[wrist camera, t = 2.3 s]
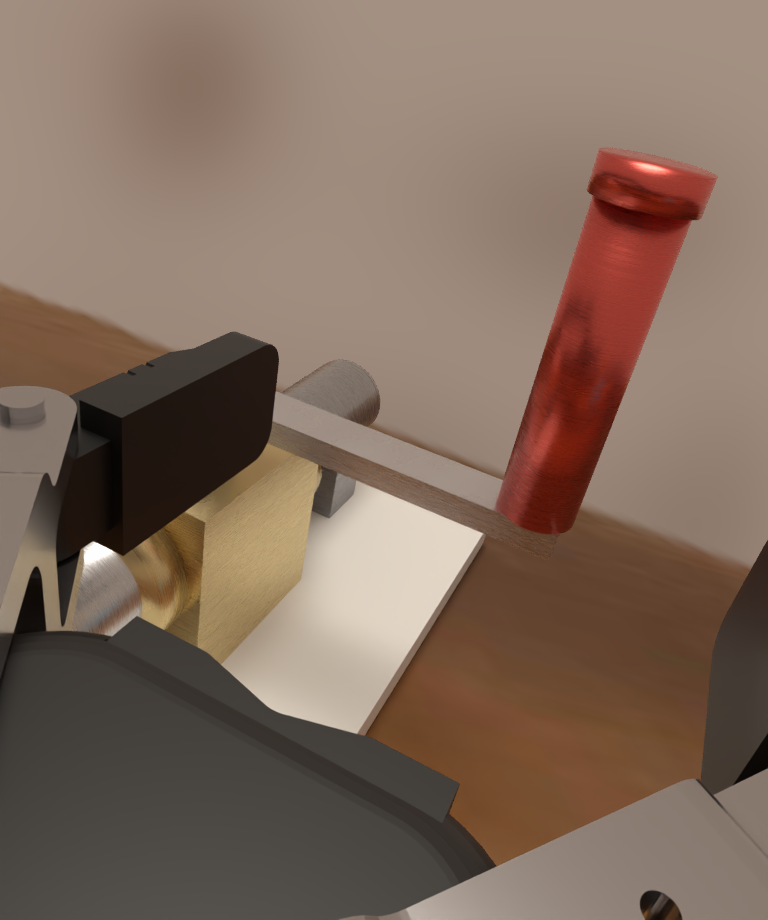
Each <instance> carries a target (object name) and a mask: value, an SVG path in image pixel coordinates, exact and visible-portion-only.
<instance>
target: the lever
mask: <svg viewBox="0 0 768 920" xmlns="http://www.w3.org/2000/svg"><path fill="white" fill-rule="evenodd" d="M716 180H717V176H716V175H715V174H713V173H711V172H709V171H707V170H704V169H701V168H698V167H695V166H692V165H689V164H686V163H682V162H678V161H675V160H671V159H667V158H663V157H659V156H655V155H650V154H645V153H640V152H635V151H629V150H623V149H616V148H600V149H599V151H598V154H597V158H596V161H595V164H594V167H593V170H592V174H591V177H590V180H589V184H588V187H587V191H588V192H589V193H590V194H592V195H593V196H592V200H591V202H590V206H589V209H588V212H587V215H586V218H585V222H584V225H583V228H582V231H581V234H580V237H579V241H578V244H577V247H576V250H575V253H574V256H573V260H572V263H571V266H570V269H569V272H568V276H567V279H566V282H565V285H564V289H563V291H562V295H561V298H560V301H559V304H558V307H557V311H556V314H555V317H554V320H553V323H552V326H551V330H550V333H549V336H548V339H547V342H546V345H545V349H544V352H543V355H542V358H541V361H540V364H539V368H538V371H537V374H536V377H535V380H534V384H533V387H532V390H531V394H530V396H529V400H528V403H527V406H526V409H525V412H524V415H523V418H522V422H521V425H520V428H519V431H518V435H517V438H516V441H515V444H514V447H513V450H512V454H511V457H510V460H509V463H508V466H507V470H506V472H505V476H504V479H503V480H500V479H498V478H495V477H493V476H490V475H488V474H485V473H483V472H480V471H478V470H475V469H472V468H470V467H467V466H465V465H462V464H460V463H457V462H455V461H452V460H450V459H447V458H444V457H442V456H439V455H437V454H434V453H432V452H429V451H427V450H424V449H421V448H419V447H416V446H414V445H411V444H409V443H406V442H404V441H401V440H399V439H396V438H393V437H391V436H388V435H386V434H383V433H381V432H378V431H376V430H373V429H371V428H368V427H365V426H363V425H360V424H358V423H355V422H353V421H350V420H348V419H345V418H342V417H340V416H337V415H335V414H332V413H330V412H327V411H325V410H322V409H320V408H317V407H314V406H312V405H309V404H307V403H304V402H302V401H299V400H297V399H294V398H292V397H289V396H286V395H284V394H281V393H279V392H276V393H275V402H274V411H273V420H272V429H271V434H270V437H269V440H268V443H267V444H270V445H272V446H275V447H277V448H279V449H282V450H284V451H287V452H289V453H291V454H294V455H296V456H299V457H301V458H303V459H306V460H308V461H311V462H313V463H315V464H318V465H320V466H323V467H325V468H327V469H330V470H332V471H335V472H337V473H339V474H342V475H344V476H346V477H349V478H351V479H354V480H356V481H358V482H361V483H363V484H366V485H368V486H370V487H373V488H375V489H378V490H380V491H382V492H385V493H387V494H390V495H392V496H394V497H397V498H399V499H402V500H404V501H406V502H409V503H411V504H414V505H416V506H418V507H421V508H423V509H426V510H428V511H430V512H433V513H435V514H438V515H440V516H442V517H445V518H447V519H449V520H452V521H454V522H457V523H459V524H461V525H464V526H466V527H469V528H471V529H473V530H476V531H478V532H481V533H483V534H485V535H488V536H490V537H493V538H495V539H497V540H500V541H502V542H505V543H507V544H509V545H512V546H514V547H517V548H519V549H521V550H524V551H526V552H529V553H531V554H533V555H536V556H538V557H541V558H543V559H545V560H549V558H550V555H551V553H552V551H553V549H554V547H555V545H556V542H557V540H558V538H559V536H560V534H561V533H564V532H566V531H568V530H569V529H570V528H571V527H572V526H573V524H574V521H575V519H576V516H577V514H578V511H579V508H580V506H581V503H582V501H583V498H584V496H585V493H586V490H587V488H588V485H589V483H590V480H591V478H592V475H593V473H594V470H595V467H596V465H597V462H598V460H599V457H600V455H601V452H602V449H603V447H604V444H605V442H606V439H607V437H608V434H609V432H610V429H611V426H612V423H613V421H614V419H615V416H616V414H617V411H618V408H619V406H620V403H621V401H622V398H623V396H624V393H625V390H626V388H627V385H628V383H629V380H630V378H631V375H632V372H633V370H634V367H635V365H636V362H637V360H638V357H639V355H640V352H641V349H642V347H643V344H644V342H645V339H646V336H647V334H648V331H649V329H650V326H651V324H652V321H653V319H654V316H655V313H656V311H657V308H658V306H659V303H660V301H661V298H662V296H663V293H664V291H665V288H666V285H667V283H668V280H669V278H670V275H671V272H672V270H673V267H674V265H675V262H676V260H677V257H678V254H679V252H680V249H681V247H682V244H683V242H684V239H685V237H686V234H687V232H688V229H689V226H690V224H691V221H692V220H699V219H701V218H702V215H703V213H704V210H705V208H706V205H707V203H708V200H709V198H710V195H711V193H712V190H713V188H714V185H715V183H716Z"/></svg>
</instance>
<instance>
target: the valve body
mask: <svg viewBox="0 0 768 920" xmlns="http://www.w3.org/2000/svg"><path fill="white" fill-rule="evenodd" d="M280 393H281V394H284V395H286V396H289V397H292V398H294V399H297V400H299V401H302V402H304V403H307V404H309V405H312V406H314V407H317V408H320V409H322V410H325V411H327V412H330V413H332V414H335V415H337V416H340V417H342V418H345V419H348V420H350V421H353V422H355V423H358V424H360V425H363V426H365V427H369V426H370V425H371V424H372V423H373V422H374V421H375V419H376V417H377V415H378V413H379V409H380V395H379V391H378V388H377V386H376V384H375V382H374V380H373V379H372V377H371V376H370V375H369V373H368V372H366V370H365V369H363V368H362V367H361V366H359V365H357V364H356V363H353V362H350V361H347V360H333V361H330V362H328V363H326V364H324V365H323V366H321V367H319V368H318V369H316V370H315V371H313V372H312V373H310V374H309V375H307V376H305V377H304V378H302V379H301V380H299V381H297V382H296V383H294V384H293V385H291V386H290V387H288V388H286V389H285V390H283V391H282V392H280ZM355 485H356V480H354V479H351V478H349V477H346V476H344V475H342V474H339V473H337V472H335V471H332V470H330V469H327V468H325V467H323V466H320V465H318V464H315V463H313V462H311V461H308V460H306V459H303V458H301V457H299V456H296V455H294V454H291V453H289V452H287V451H284V450H282V449H279V448H277V447H275V446H272V445H270V444H267V445H266V447H265V449H264V451H263V452H262V454H261V455H260V456H259V458H258V459H257V460H256V461H254V462H253V463H252V464H250V465H249V466H248V467H246V468H245V469H244V470H242V471H241V472H239V473H238V474H237V475H235V476H234V477H232V478H231V479H230V480H228V481H227V482H225V483H224V484H223V485H221V486H220V487H219V488H217V489H216V490H214V491H213V492H212V493H210V494H209V495H207V496H206V497H205V498H203V499H202V500H201V501H199V502H198V503H196V504H195V505H194V506H192V507H191V508H189V509H188V510H187V511H185V512H184V513H183V514H181V515H180V516H178V517H177V518H176V519H174V520H173V521H171V522H170V523H169V524H167V525H166V526H164V527H163V528H162V529H160V530H159V531H158V532H156V533H155V534H153V535H152V536H151V537H149V538H148V539H146V540H145V541H144V542H142V543H141V544H140V545H138V546H137V547H135V548H134V549H133V550H131V551H130V552H128V553H127V554H126V555H124V556H122V555H120V554H118V553H116V552H114V551H112V550H110V549H108V548H106V547H104V546H102V545H100V544H98V543H96V542H94V541H93V542H91V543H90V544H88V545H87V546H85V547H84V568H83V573H82V578H81V583H80V588H79V593H78V598H77V603H76V608H75V613H74V618H73V623H72V628H71V631H82V632H90V633H97V634H104V635H108V636H113V635H114V634H116V633H117V632H118V631H119V630H120V629H122V628H123V627H124V626H125V625H126V624H128V623H129V622H130V621H131V620H132V619H134V618H135V617H136V616H138V617H140V618H142V619H144V620H146V621H148V622H150V623H152V624H154V625H155V626H157V627H159V628H161V629H163V630H165V631H167V632H169V633H171V634H173V635H175V636H177V637H179V638H180V639H182V640H184V641H186V642H188V643H190V644H192V645H194V646H196V647H198V648H200V649H202V650H204V651H205V652H207V653H209V654H210V655H211V656H212V657H213V658H214V659H215V660H216V661H218V662H219V663H220V664H222V663H223V662H224V661H225V660H226V659H227V658H228V657H229V656H230V655H231V653H232V652H233V651H234V650H235V649H236V648H237V647H238V646H239V645H240V644H241V643H242V642H243V641H244V640H245V639H246V638H247V636H248V635H249V634H250V633H251V632H252V631H253V630H254V629H255V628H256V627H257V626H258V625H259V624H260V623H261V622H262V620H263V619H264V618H265V617H266V616H267V615H268V614H269V613H270V612H271V611H272V610H273V609H274V608H275V607H276V606H277V605H278V603H279V602H280V601H281V600H282V599H283V598H284V597H285V596H286V595H287V594H288V593H289V592H290V591H291V590H292V589H293V587H294V586H295V585H296V584H297V583H298V582H299V581H300V580H301V576H302V570H303V563H304V557H305V550H306V544H307V537H308V531H309V524H310V518H311V511H313V512H316V513H318V514H320V515H322V516H325V517H327V518H329V519H330V518H331V517H332V516H333V515H334V514H335V513H336V512H337V511H338V510H339V509H340V508H341V507H342V506H343V505H344V504H345V503H346V502H347V501H348V500H349V499H350V498H351V497H352V496H353V495H354V490H355Z"/></svg>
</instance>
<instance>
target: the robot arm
mask: <svg viewBox="0 0 768 920" xmlns="http://www.w3.org/2000/svg"><path fill="white" fill-rule="evenodd" d="M278 364H279V357H278V352H277V349H276V348H275V347H274V346H273V345H271V344H268V343H265V342H262V341H260V340H257V339H254V338H251V337H249V336H246V335H243V334H240V333H238V332H230V333H228V334H225V335H223V336H221V337H219V338H217V339H214V340H212V341H210V342H207V343H205V344H203V345H201V346H198V347H196V348H194V349H188V350H182V351H176V352H170V353H167V354H165V355H163V356H160V357H158V358H156V359H153V360H151V361H149V362H147V363H146V365H140V366H137V367H135V368H133V369H130V370H128V373H127V374H126V373H121V374H119V375H117V376H114V377H112V378H110V379H107V380H105V381H103V382H101V383H98V384H96V385H94V386H91V387H89V388H87V389H84V390H82V391H80V392H78V393H75V394H73V395H71V396H67V395H66V394H64V393H62V392H59V391H56V390H53V389H49V388H44V387H36V386H12V387H4V388H0V920H768V541H767V542H766V544H765V546H764V547H763V549H762V551H761V553H760V554H759V556H758V558H757V560H756V562H755V563H754V565H753V567H752V569H751V571H750V572H749V574H748V576H747V578H746V580H745V581H744V583H743V585H742V587H741V589H740V590H739V592H738V594H737V596H736V598H735V599H734V601H733V603H732V605H731V607H730V608H729V610H728V612H727V614H726V616H725V618H724V620H723V622H722V625H721V627H720V630H719V632H718V635H717V638H716V641H715V645H714V649H713V654H712V664H711V675H710V686H709V697H708V707H707V718H706V729H705V740H704V751H703V762H702V772H701V781H700V780H698V779H688V780H684V781H681V782H679V783H676V784H674V785H672V786H670V787H668V788H665V789H663V790H661V791H659V792H657V793H655V794H652V795H650V796H648V797H646V798H644V799H642V800H639V801H637V802H635V803H633V804H631V805H629V806H626V807H624V808H622V809H620V810H618V811H616V812H613V813H611V814H609V815H607V816H605V817H603V818H601V819H598V820H596V821H594V822H592V823H590V824H588V825H585V826H583V827H581V828H579V829H577V830H575V831H572V832H570V833H568V834H566V835H564V836H562V837H559V838H557V839H555V840H553V841H551V842H549V843H547V844H544V845H542V846H540V847H538V848H536V849H534V850H531V851H529V852H527V853H525V854H523V855H521V856H518V857H516V858H514V859H512V860H510V861H508V862H505V863H503V864H501V865H499V866H496V865H495V864H494V862H493V861H492V859H491V858H490V857H489V855H488V854H487V853H486V851H485V850H484V849H483V847H482V846H481V845H480V844H479V843H478V842H477V841H476V840H475V839H474V837H473V836H472V835H471V834H470V833H469V832H468V831H467V830H466V829H465V828H464V827H463V826H462V825H461V824H460V823H459V822H458V821H456V820H455V819H454V818H453V817H452V816H451V815H450V814H449V812H450V809H451V807H452V804H453V801H454V798H455V796H456V793H457V790H458V787H459V785H460V784H459V783H457V782H455V781H453V780H452V779H450V778H448V777H446V776H444V775H442V774H440V773H438V772H436V771H434V770H432V769H430V768H428V767H427V766H425V765H423V764H421V763H419V762H417V761H415V760H413V759H411V758H409V757H407V756H405V755H403V754H402V753H400V752H398V751H396V750H394V749H392V748H390V747H388V746H386V745H384V744H382V743H380V742H378V741H377V740H375V739H373V738H370V737H367V736H363V735H359V734H355V733H352V732H348V731H344V730H341V729H337V728H333V727H329V726H326V725H322V724H318V723H315V722H311V721H307V720H303V719H300V718H296V717H292V716H289V715H285V714H282V713H279V712H276V711H274V710H272V709H270V708H269V707H268V706H266V705H265V704H264V703H263V702H262V701H261V700H260V699H259V698H257V697H256V696H255V695H254V694H253V693H252V692H251V691H250V690H249V689H247V688H246V687H245V686H244V685H243V684H242V683H241V682H240V681H239V680H237V679H236V678H235V677H234V676H233V675H232V674H231V673H230V672H229V671H227V670H226V669H225V668H224V667H223V666H222V665H221V664H220V663H219V662H218V661H216V660H215V659H214V658H213V657H212V656H211V655H210V654H209V653H207V652H205V651H204V650H202V649H200V648H198V647H196V646H194V645H192V644H190V643H188V642H186V641H184V640H182V639H180V638H179V637H177V636H175V635H173V634H171V633H169V632H167V631H165V630H163V629H161V628H159V627H157V626H155V625H154V624H152V623H150V622H148V621H146V620H144V619H142V618H140V617H138V616H136V617H135V618H134V619H132V620H131V621H130V622H129V623H128V624H126V625H125V626H124V627H123V628H122V629H120V630H119V631H118V632H117V633H116V634H114V635H113V636H108V635H104V634H97V633H90V632H82V631H71V628H72V623H73V618H74V613H75V608H76V603H77V598H78V593H79V588H80V583H81V578H82V573H83V568H84V547H85V546H87V545H88V544H90V543H91V542H93V541H94V542H96V543H98V544H100V545H102V546H104V547H106V548H108V549H110V550H112V551H114V552H116V553H118V554H120V555H122V556H124V555H126V554H127V553H128V552H130V551H131V550H133V549H134V548H135V547H137V546H138V545H140V544H141V543H142V542H144V541H145V540H146V539H148V538H149V537H151V536H152V535H153V534H155V533H156V532H158V531H159V530H160V529H162V528H163V527H164V526H166V525H167V524H169V523H170V522H171V521H173V520H174V519H176V518H177V517H178V516H180V515H181V514H183V513H184V512H185V511H187V510H188V509H189V508H191V507H192V506H194V505H195V504H196V503H198V502H199V501H201V500H202V499H203V498H205V497H206V496H207V495H209V494H210V493H212V492H213V491H214V490H216V489H217V488H219V487H220V486H221V485H223V484H224V483H225V482H227V481H228V480H230V479H231V478H232V477H234V476H235V475H237V474H238V473H239V472H241V471H242V470H244V469H245V468H246V467H248V466H249V465H250V464H252V463H253V462H254V461H256V460H257V459H258V458H259V456H260V455H261V454H262V452H263V451H264V449H265V447H266V445H267V443H268V440H269V437H270V434H271V429H272V420H273V411H274V402H275V393H276V383H277V374H278Z"/></svg>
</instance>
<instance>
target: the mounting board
mask: <svg viewBox="0 0 768 920" xmlns="http://www.w3.org/2000/svg"><path fill="white" fill-rule="evenodd" d="M484 539H485V534H483V533H481V532H478V531H476V530H473V529H471V528H469V527H466V526H464V525H461V524H459V523H457V522H454V521H452V520H449V519H447V518H445V517H442V516H440V515H438V514H435V513H433V512H430V511H428V510H426V509H423V508H421V507H418V506H416V505H414V504H411V503H409V502H406V501H404V500H402V499H399V498H397V497H394V496H392V495H390V494H387V493H385V492H382V491H380V490H378V489H375V488H373V487H370V486H368V485H366V484H363V483H361V482H358V481H356V485H355V490H354V495H353V496H352V497H351V498H350V499H349V500H348V501H347V502H346V503H345V504H344V505H343V506H342V507H341V508H340V509H339V510H338V511H337V512H336V513H335V514H334V515H333V516H332V517H331V518H330V519H329V518H327V517H325V516H322V515H320V514H318V513H316V512H313V511H311V518H310V524H309V531H308V537H307V544H306V550H305V557H304V563H303V570H302V576H301V580H300V581H299V582H298V583H297V584H296V585H295V586H294V587H293V589H292V590H291V591H290V592H289V593H288V594H287V595H286V596H285V597H284V598H283V599H282V600H281V601H280V602H279V603H278V605H277V606H276V607H275V608H274V609H273V610H272V611H271V612H270V613H269V614H268V615H267V616H266V617H265V618H264V619H263V620H262V622H261V623H260V624H259V625H258V626H257V627H256V628H255V629H254V630H253V631H252V632H251V633H250V634H249V635H248V636H247V638H246V639H245V640H244V641H243V642H242V643H241V644H240V645H239V646H238V647H237V648H236V649H235V650H234V651H233V652H232V653H231V655H230V656H229V657H228V658H227V659H226V660H225V661H224V662H223V663H222V664H221V665H222V666H223V667H224V668H225V669H226V670H227V671H229V672H230V673H231V674H232V675H233V676H234V677H235V678H236V679H237V680H239V681H240V682H241V683H242V684H243V685H244V686H245V687H246V688H247V689H249V690H250V691H251V692H252V693H253V694H254V695H255V696H256V697H257V698H259V699H260V700H261V701H262V702H263V703H264V704H265V705H266V706H268V707H269V708H270V709H272V710H274V711H276V712H279V713H282V714H285V715H289V716H292V717H296V718H300V719H303V720H307V721H311V722H315V723H318V724H322V725H326V726H329V727H333V728H337V729H341V730H344V731H348V732H352V733H355V734H359V735H363V736H365V734H366V733H367V731H368V729H369V728H370V726H371V725H372V723H373V721H374V720H375V718H376V717H377V715H378V713H379V712H380V710H381V708H382V707H383V705H384V704H385V702H386V700H387V699H388V697H389V695H390V694H391V692H392V691H393V689H394V687H395V686H396V684H397V682H398V681H399V679H400V678H401V676H402V674H403V673H404V671H405V669H406V668H407V666H408V665H409V663H410V661H411V660H412V658H413V657H414V655H415V653H416V652H417V650H418V648H419V647H420V645H421V644H422V642H423V640H424V639H425V637H426V635H427V634H428V632H429V631H430V629H431V627H432V626H433V624H434V622H435V621H436V619H437V618H438V616H439V614H440V613H441V611H442V609H443V608H444V606H445V605H446V603H447V601H448V600H449V598H450V596H451V595H452V593H453V592H454V590H455V588H456V587H457V585H458V584H459V582H460V580H461V579H462V577H463V575H464V574H465V572H466V571H467V569H468V567H469V566H470V564H471V562H472V561H473V559H474V558H475V556H476V554H477V553H478V551H479V549H480V548H481V546H482V545H483V542H484Z"/></svg>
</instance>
